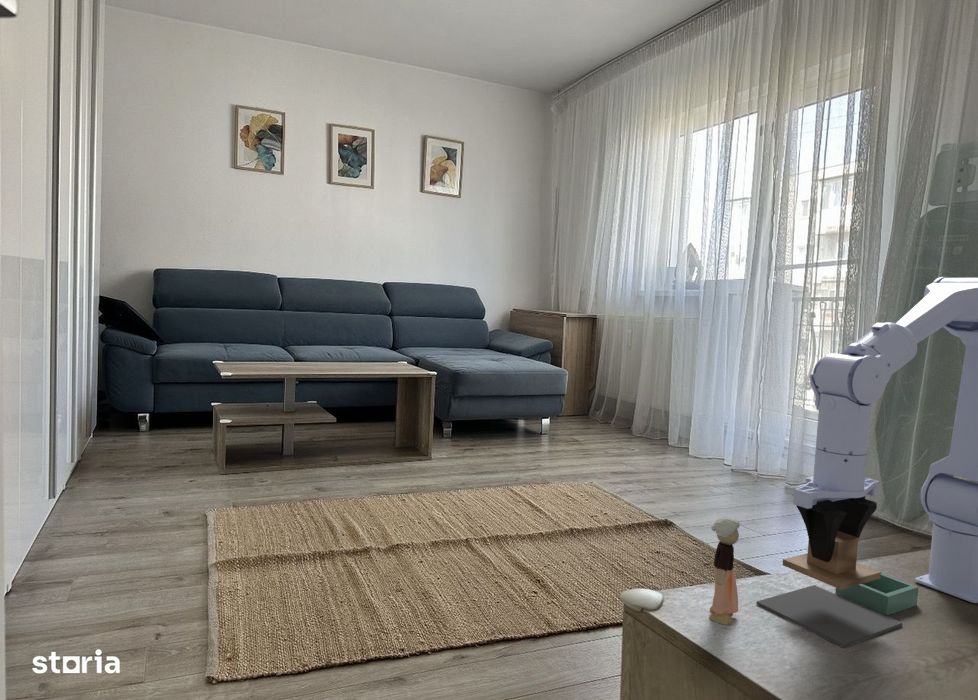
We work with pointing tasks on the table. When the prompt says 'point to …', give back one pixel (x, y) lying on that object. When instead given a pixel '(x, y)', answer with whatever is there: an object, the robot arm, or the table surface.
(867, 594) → the green storage tray
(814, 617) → the mat
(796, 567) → the lid
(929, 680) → the table surface
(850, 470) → the robot arm
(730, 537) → the grandmother figurine
